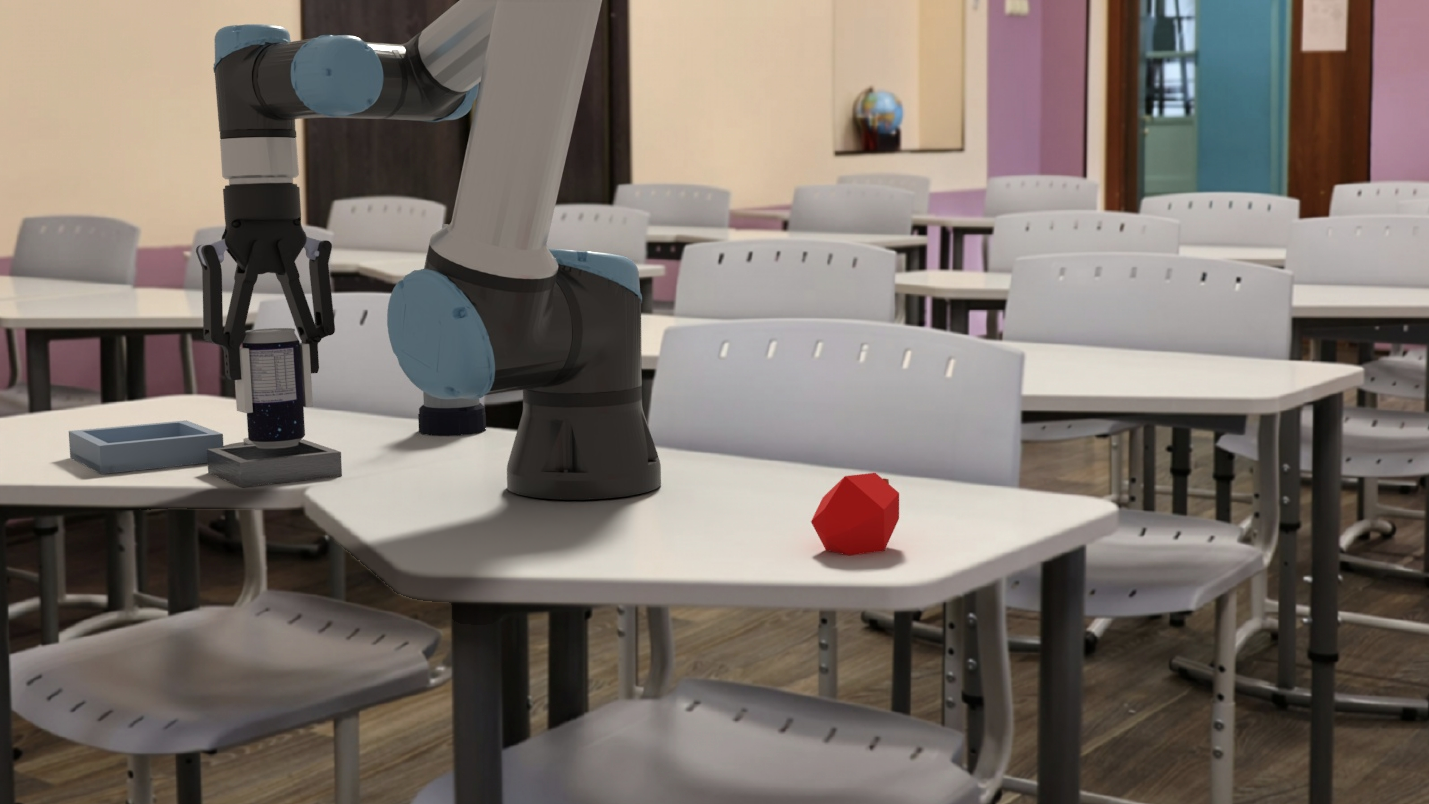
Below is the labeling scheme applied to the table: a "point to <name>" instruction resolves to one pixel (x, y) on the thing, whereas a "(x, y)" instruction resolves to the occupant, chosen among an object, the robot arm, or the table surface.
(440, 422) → the humidifier
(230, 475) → the grey flat rectangular frame
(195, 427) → the tray
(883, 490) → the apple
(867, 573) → the table surface
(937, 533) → the table surface
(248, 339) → the beverage can
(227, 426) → the table surface
